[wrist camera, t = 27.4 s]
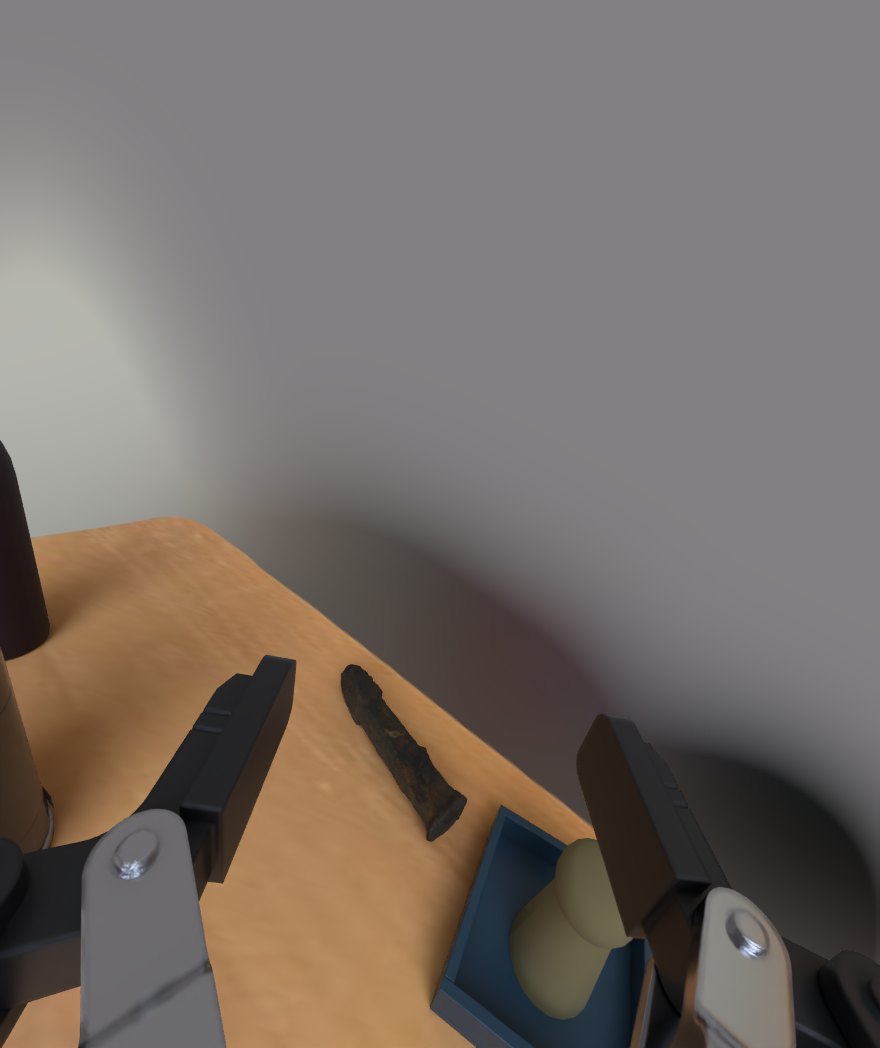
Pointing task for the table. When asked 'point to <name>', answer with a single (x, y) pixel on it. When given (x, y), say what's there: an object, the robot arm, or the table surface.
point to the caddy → (486, 968)
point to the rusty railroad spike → (402, 754)
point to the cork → (567, 933)
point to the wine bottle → (18, 572)
